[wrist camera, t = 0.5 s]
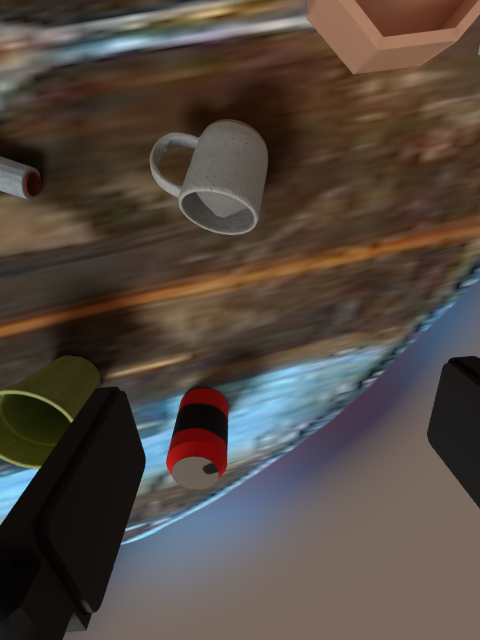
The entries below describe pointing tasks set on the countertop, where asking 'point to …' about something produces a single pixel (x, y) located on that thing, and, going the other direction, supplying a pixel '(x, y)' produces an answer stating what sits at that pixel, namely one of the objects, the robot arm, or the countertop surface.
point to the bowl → (390, 30)
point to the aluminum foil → (19, 179)
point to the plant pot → (43, 409)
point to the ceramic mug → (219, 176)
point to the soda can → (199, 439)
